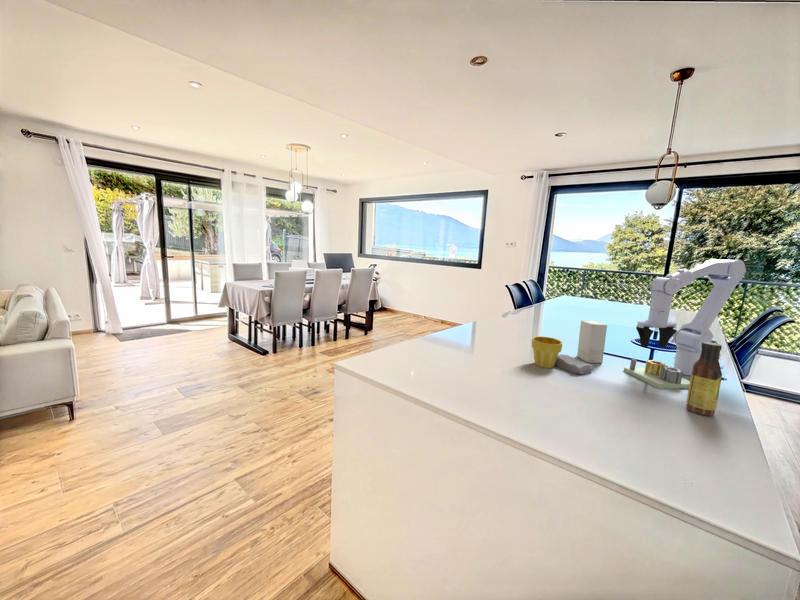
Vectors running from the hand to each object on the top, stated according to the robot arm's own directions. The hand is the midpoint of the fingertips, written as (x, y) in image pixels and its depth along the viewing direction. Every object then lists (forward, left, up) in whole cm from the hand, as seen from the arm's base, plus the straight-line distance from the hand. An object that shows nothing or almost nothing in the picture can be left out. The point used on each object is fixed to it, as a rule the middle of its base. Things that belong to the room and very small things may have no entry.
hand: (653, 346), depth 124 cm
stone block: (+28, -3, -10) cm, 30 cm away
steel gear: (+3, +11, -8) cm, 14 cm away
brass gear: (+3, +5, -8) cm, 10 cm away
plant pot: (+38, -7, -10) cm, 40 cm away
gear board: (+3, +7, -10) cm, 12 cm away
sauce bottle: (+12, +29, -10) cm, 33 cm away
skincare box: (+15, -13, -10) cm, 22 cm away
